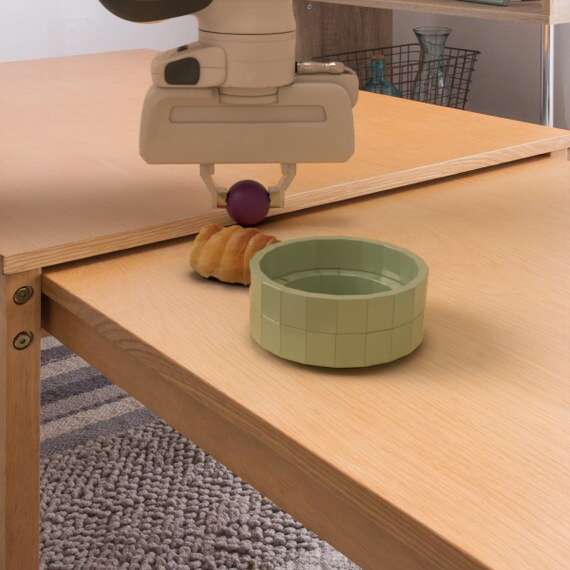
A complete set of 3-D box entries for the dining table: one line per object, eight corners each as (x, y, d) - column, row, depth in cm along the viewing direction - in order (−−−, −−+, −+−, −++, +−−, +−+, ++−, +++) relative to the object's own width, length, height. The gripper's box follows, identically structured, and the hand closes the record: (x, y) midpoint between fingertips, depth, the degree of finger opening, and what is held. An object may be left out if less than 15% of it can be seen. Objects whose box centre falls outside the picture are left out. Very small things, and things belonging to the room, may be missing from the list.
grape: (225, 231, 88) (225, 187, 86) (224, 217, 92) (223, 174, 91) (272, 230, 89) (272, 186, 87) (268, 216, 93) (268, 174, 91)
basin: (255, 378, 61) (255, 301, 58) (245, 304, 72) (245, 237, 70) (441, 373, 62) (448, 296, 60) (402, 300, 73) (407, 234, 71)
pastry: (316, 268, 79) (317, 226, 78) (286, 297, 73) (287, 252, 72) (216, 253, 82) (216, 212, 81) (181, 279, 77) (179, 236, 75)
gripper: (354, 56, 88) (348, 196, 94) (137, 56, 87) (144, 198, 92) (365, 67, 83) (358, 215, 88) (133, 66, 81) (140, 218, 86)
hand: (247, 207), depth 90 cm, fingers closed on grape, 4 cm apart
